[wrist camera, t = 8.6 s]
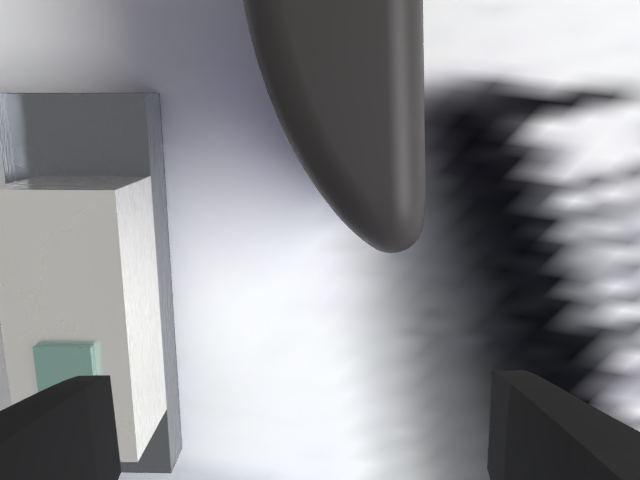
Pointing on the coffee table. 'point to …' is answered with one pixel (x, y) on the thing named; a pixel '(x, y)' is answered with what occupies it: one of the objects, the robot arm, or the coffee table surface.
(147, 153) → the rail plate
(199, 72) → the coffee table surface
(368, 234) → the leaning round-cornered charcoal block
